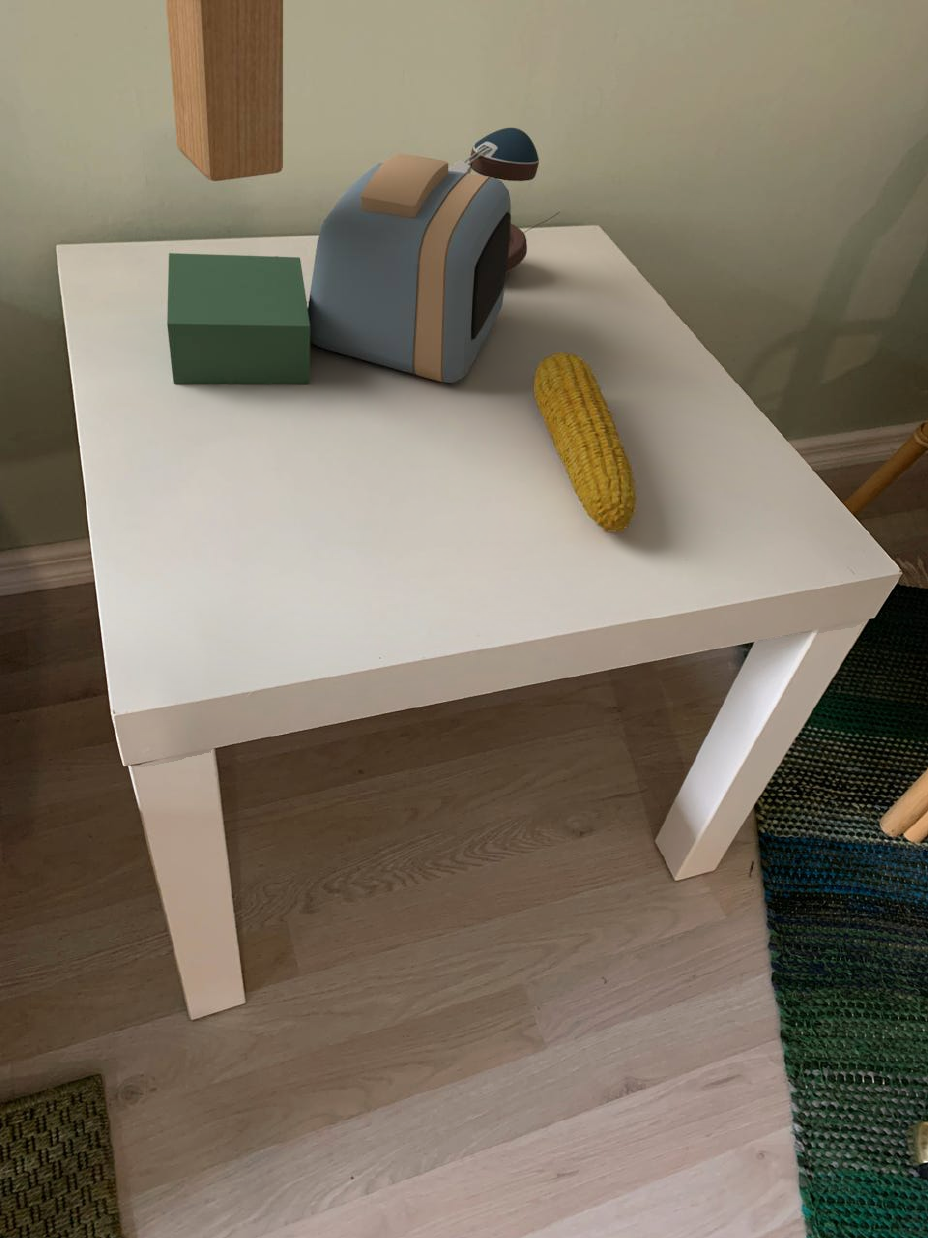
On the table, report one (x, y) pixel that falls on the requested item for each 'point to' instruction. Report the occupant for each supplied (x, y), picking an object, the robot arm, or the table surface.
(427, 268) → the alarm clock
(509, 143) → the headphones
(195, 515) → the table surface
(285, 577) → the table surface
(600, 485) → the food
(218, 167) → the decorative item
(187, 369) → the green block
